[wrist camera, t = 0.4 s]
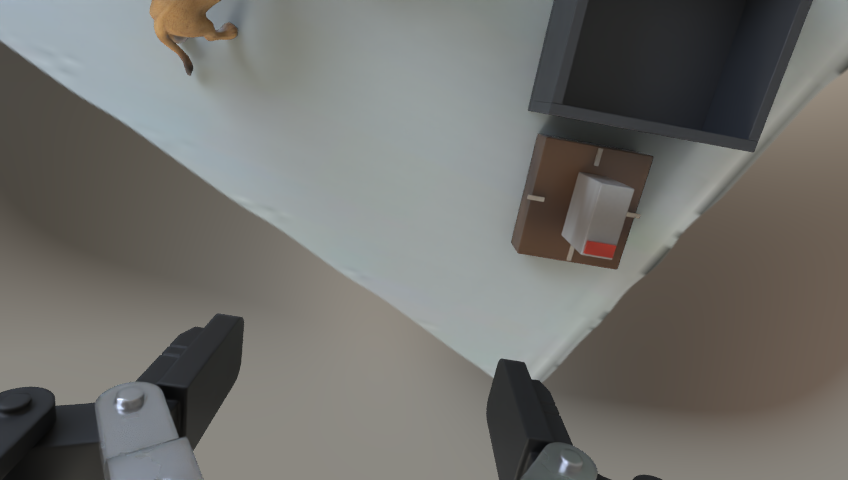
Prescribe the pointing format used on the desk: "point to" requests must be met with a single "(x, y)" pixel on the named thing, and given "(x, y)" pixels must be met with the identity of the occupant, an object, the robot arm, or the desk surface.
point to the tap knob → (596, 215)
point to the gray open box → (669, 65)
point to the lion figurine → (186, 24)
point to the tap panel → (554, 190)
